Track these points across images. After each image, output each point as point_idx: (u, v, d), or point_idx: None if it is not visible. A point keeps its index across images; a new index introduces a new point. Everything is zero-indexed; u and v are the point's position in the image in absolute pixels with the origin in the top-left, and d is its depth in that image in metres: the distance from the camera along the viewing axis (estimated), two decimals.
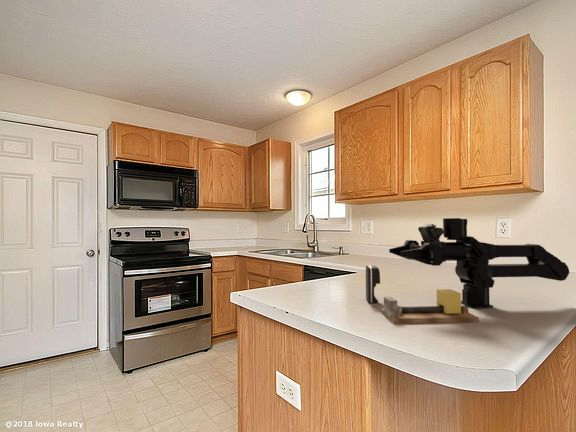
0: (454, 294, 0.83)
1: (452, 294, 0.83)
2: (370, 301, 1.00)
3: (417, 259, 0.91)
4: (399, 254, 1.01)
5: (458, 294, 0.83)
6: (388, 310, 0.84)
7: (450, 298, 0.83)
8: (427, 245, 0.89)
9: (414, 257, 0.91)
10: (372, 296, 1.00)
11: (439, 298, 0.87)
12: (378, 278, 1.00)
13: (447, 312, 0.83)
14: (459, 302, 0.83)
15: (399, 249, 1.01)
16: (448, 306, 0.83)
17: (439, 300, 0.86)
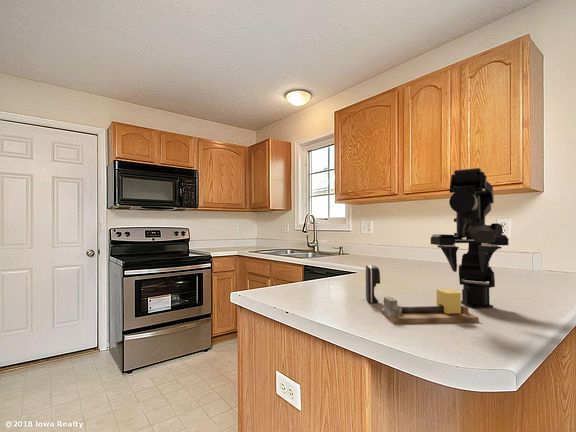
0: (454, 294, 0.83)
1: (452, 294, 0.83)
2: (370, 301, 1.00)
3: None
4: None
5: (458, 294, 0.83)
6: (388, 310, 0.84)
7: (450, 298, 0.83)
8: (499, 248, 0.84)
9: None
10: (372, 296, 1.00)
11: (439, 298, 0.87)
12: (378, 278, 1.00)
13: (447, 312, 0.83)
14: (459, 302, 0.83)
15: None
16: (448, 306, 0.83)
17: (439, 300, 0.86)
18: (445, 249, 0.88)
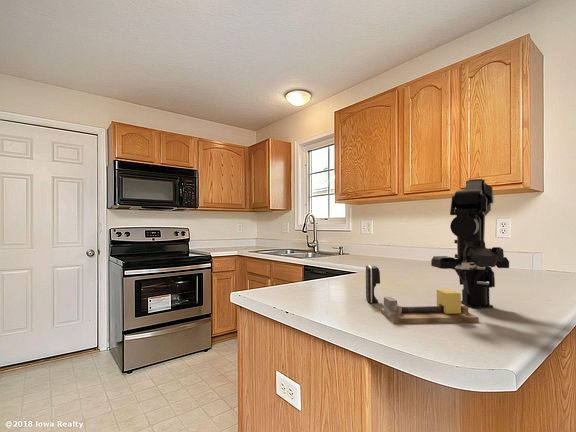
0: (454, 294, 0.83)
1: (452, 294, 0.83)
2: (370, 301, 1.00)
3: None
4: None
5: (458, 294, 0.83)
6: (388, 310, 0.84)
7: (450, 298, 0.83)
8: (486, 271, 0.84)
9: None
10: (372, 296, 1.00)
11: (439, 298, 0.87)
12: (378, 278, 1.00)
13: (447, 312, 0.83)
14: (459, 302, 0.83)
15: None
16: (448, 306, 0.83)
17: (439, 300, 0.86)
18: (459, 271, 0.88)
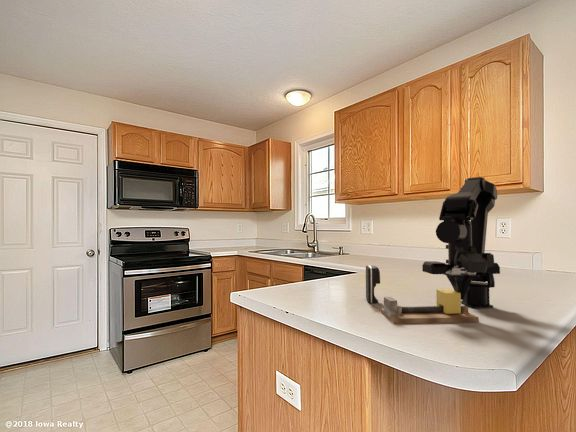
0: (454, 294, 0.83)
1: (452, 294, 0.83)
2: (370, 301, 1.00)
3: None
4: None
5: (458, 294, 0.83)
6: (388, 310, 0.84)
7: (450, 298, 0.83)
8: (477, 276, 0.84)
9: None
10: (372, 296, 1.00)
11: (439, 298, 0.87)
12: (378, 278, 1.00)
13: (447, 312, 0.83)
14: (459, 302, 0.83)
15: None
16: (448, 306, 0.83)
17: (439, 300, 0.86)
18: (450, 276, 0.87)
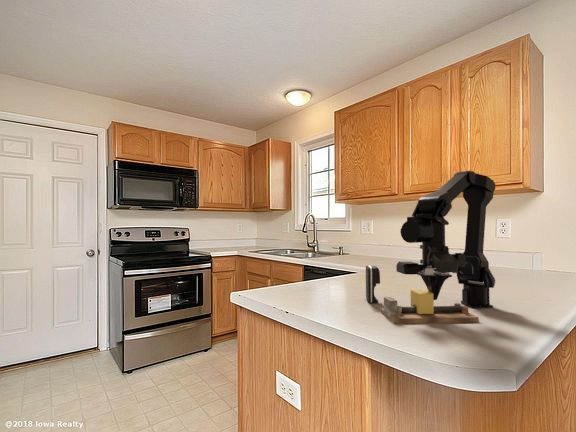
0: (427, 294, 0.83)
1: (425, 294, 0.83)
2: (370, 301, 1.00)
3: None
4: None
5: (431, 294, 0.83)
6: (388, 310, 0.84)
7: (423, 298, 0.83)
8: None
9: None
10: (372, 296, 1.00)
11: (413, 298, 0.86)
12: (378, 278, 1.00)
13: (419, 312, 0.83)
14: (432, 302, 0.83)
15: None
16: (421, 306, 0.83)
17: (413, 300, 0.86)
18: (424, 276, 0.87)
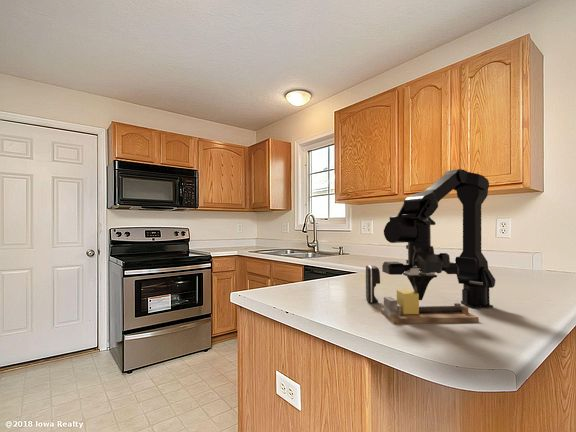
0: (412, 295, 0.83)
1: (410, 295, 0.83)
2: (370, 301, 1.00)
3: None
4: None
5: (416, 295, 0.83)
6: (388, 310, 0.84)
7: (408, 298, 0.83)
8: None
9: None
10: (372, 296, 1.00)
11: (398, 299, 0.86)
12: (378, 278, 1.00)
13: (405, 313, 0.83)
14: (417, 303, 0.83)
15: None
16: (406, 306, 0.83)
17: (399, 301, 0.86)
18: (410, 277, 0.87)
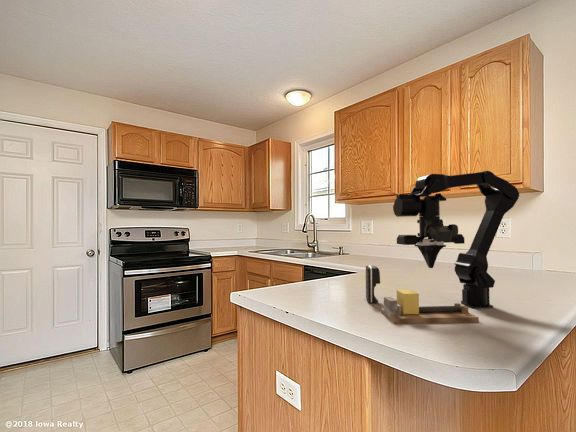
0: (412, 295, 0.83)
1: (410, 295, 0.83)
2: (370, 301, 1.00)
3: None
4: None
5: (416, 295, 0.83)
6: (388, 310, 0.84)
7: (408, 298, 0.83)
8: (444, 246, 0.94)
9: None
10: (372, 296, 1.00)
11: (398, 299, 0.86)
12: (378, 278, 1.00)
13: (405, 313, 0.83)
14: (417, 303, 0.83)
15: None
16: (406, 306, 0.83)
17: (399, 301, 0.86)
18: (421, 248, 0.97)
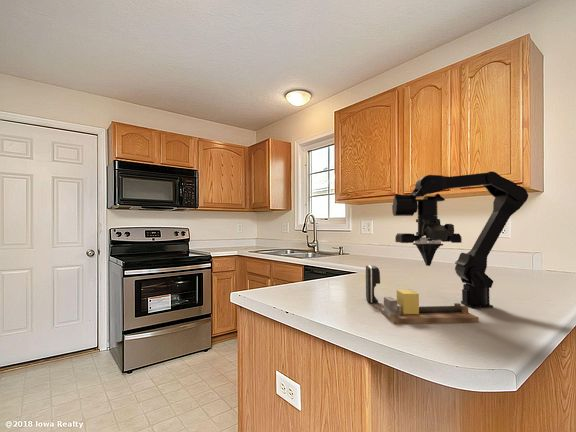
0: (412, 295, 0.83)
1: (410, 295, 0.83)
2: (370, 301, 1.00)
3: None
4: None
5: (416, 295, 0.83)
6: (388, 310, 0.84)
7: (408, 298, 0.83)
8: (441, 245, 0.97)
9: None
10: (372, 296, 1.00)
11: (398, 299, 0.86)
12: (378, 278, 1.00)
13: (405, 313, 0.83)
14: (417, 303, 0.83)
15: None
16: (406, 306, 0.83)
17: (399, 301, 0.86)
18: (419, 246, 1.00)
